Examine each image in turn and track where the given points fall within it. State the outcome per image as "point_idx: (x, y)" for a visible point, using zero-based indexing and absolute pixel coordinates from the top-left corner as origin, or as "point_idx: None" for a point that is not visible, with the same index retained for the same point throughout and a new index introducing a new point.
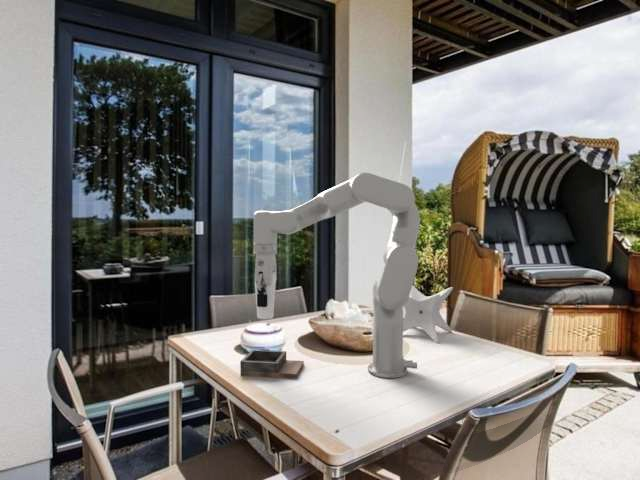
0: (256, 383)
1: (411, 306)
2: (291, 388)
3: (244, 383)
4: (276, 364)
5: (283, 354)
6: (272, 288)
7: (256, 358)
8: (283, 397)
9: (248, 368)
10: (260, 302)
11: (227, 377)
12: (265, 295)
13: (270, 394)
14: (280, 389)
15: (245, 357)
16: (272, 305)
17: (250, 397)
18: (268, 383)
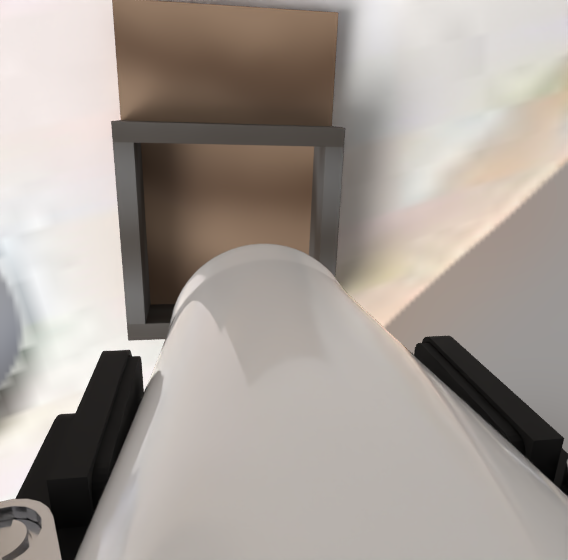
0: (400, 207)
1: None
2: (450, 22)
3: (402, 258)
4: (342, 133)
5: (179, 126)
6: (506, 448)
7: (150, 294)
8: (544, 43)
9: None
10: None
11: None
12: (545, 450)
13: (512, 112)
14: (462, 77)
15: None
16: (323, 288)
17: (537, 188)
18: (397, 152)
